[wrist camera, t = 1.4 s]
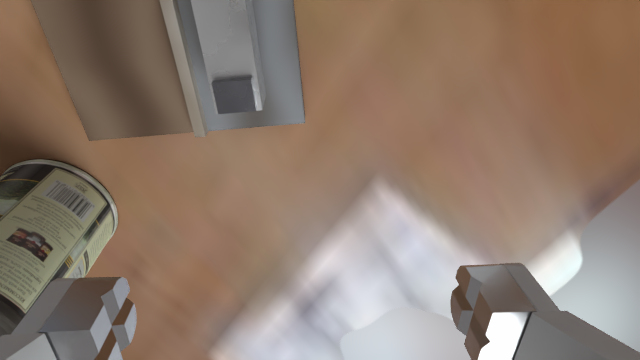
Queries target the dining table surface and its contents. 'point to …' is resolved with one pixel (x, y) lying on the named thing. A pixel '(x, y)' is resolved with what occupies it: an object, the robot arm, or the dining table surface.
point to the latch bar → (230, 54)
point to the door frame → (162, 66)
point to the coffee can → (47, 231)
